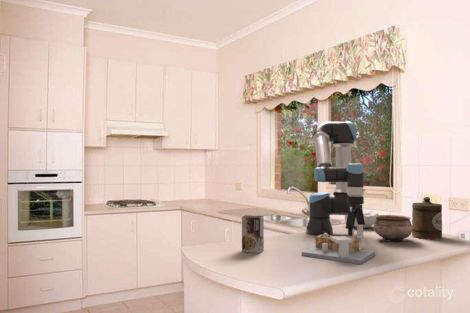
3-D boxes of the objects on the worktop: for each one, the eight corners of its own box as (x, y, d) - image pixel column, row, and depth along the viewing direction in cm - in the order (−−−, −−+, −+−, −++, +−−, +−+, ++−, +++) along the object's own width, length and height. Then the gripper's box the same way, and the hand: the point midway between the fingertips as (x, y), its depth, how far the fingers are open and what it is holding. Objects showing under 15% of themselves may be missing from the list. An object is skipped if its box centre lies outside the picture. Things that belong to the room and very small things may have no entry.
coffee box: (264, 250, 181) (264, 215, 181) (260, 253, 175) (260, 217, 175) (245, 248, 184) (245, 214, 184) (241, 251, 178) (241, 216, 178)
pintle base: (300, 255, 170) (300, 235, 170) (319, 247, 187) (319, 228, 187) (360, 264, 155) (359, 242, 155) (374, 254, 172) (374, 234, 173)
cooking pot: (399, 246, 188) (399, 221, 188) (363, 240, 202) (363, 217, 203) (421, 239, 205) (421, 216, 205) (387, 234, 219) (386, 213, 219)
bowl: (362, 224, 258) (362, 208, 258) (386, 228, 239) (386, 212, 239) (337, 226, 249) (337, 210, 249) (359, 231, 230) (359, 214, 231)
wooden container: (442, 240, 203) (441, 198, 204) (411, 238, 210) (410, 197, 211) (442, 235, 216) (441, 196, 217) (413, 233, 223) (412, 195, 224)
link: (315, 247, 180) (315, 236, 180) (321, 244, 186) (321, 234, 186) (355, 252, 169) (355, 241, 169) (360, 249, 175) (360, 238, 175)
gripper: (354, 197, 173) (355, 245, 172) (370, 194, 193) (371, 237, 193) (338, 197, 177) (338, 243, 177) (355, 193, 198) (356, 235, 197)
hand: (355, 240), depth 185 cm, fingers open, 13 cm apart
